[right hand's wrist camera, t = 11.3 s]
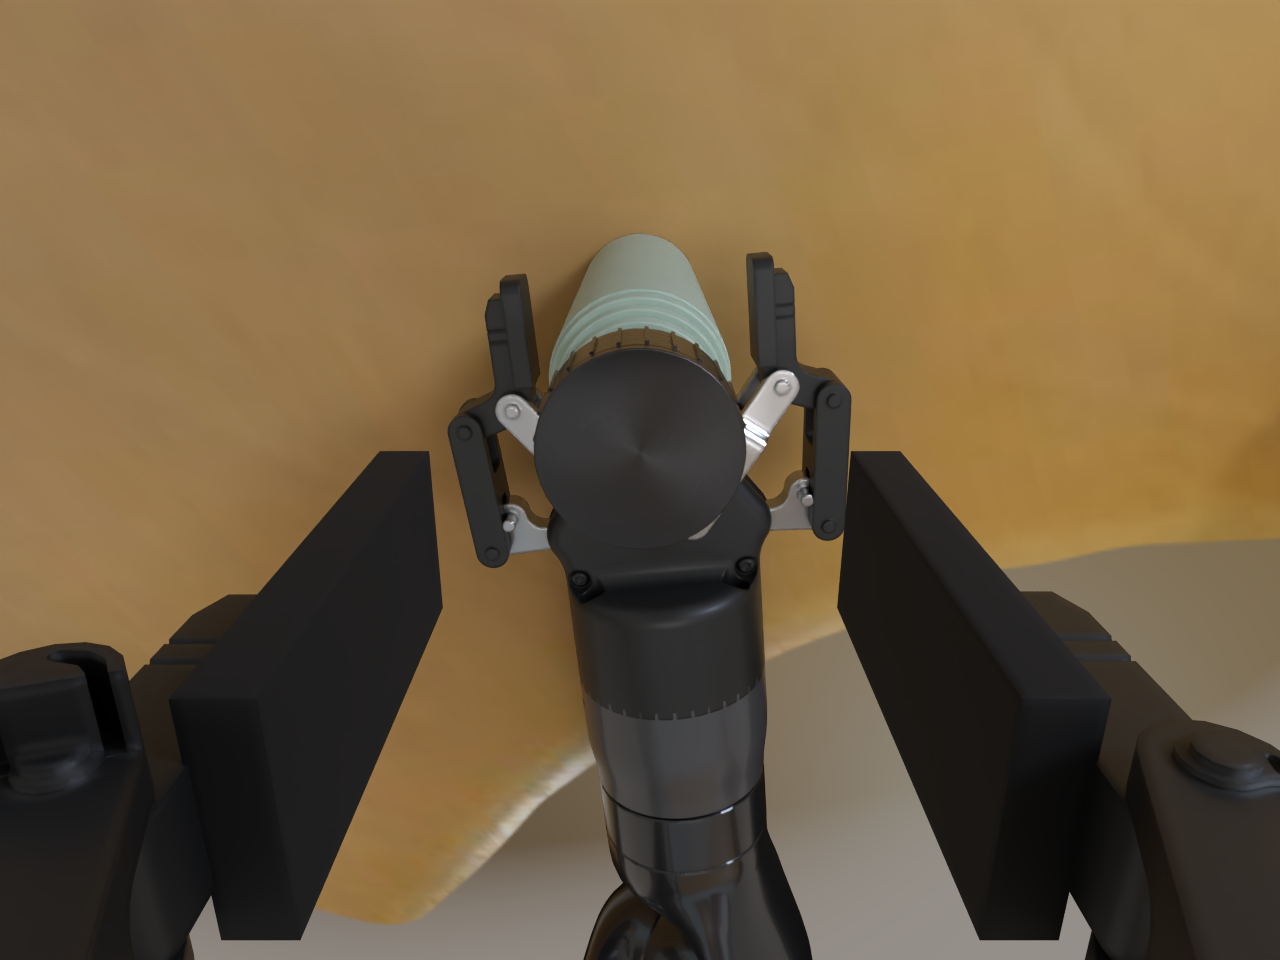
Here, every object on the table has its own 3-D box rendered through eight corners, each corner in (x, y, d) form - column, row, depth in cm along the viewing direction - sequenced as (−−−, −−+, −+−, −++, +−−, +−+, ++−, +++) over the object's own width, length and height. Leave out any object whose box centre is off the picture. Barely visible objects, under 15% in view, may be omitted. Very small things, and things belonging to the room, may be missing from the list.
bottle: (634, 208, 36) (628, 278, 17) (720, 286, 37) (805, 436, 18) (560, 297, 37) (475, 457, 18) (645, 370, 38) (650, 594, 19)
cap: (629, 282, 18) (629, 298, 17) (779, 414, 19) (794, 443, 18) (501, 432, 20) (486, 462, 18) (648, 549, 21) (649, 590, 19)
